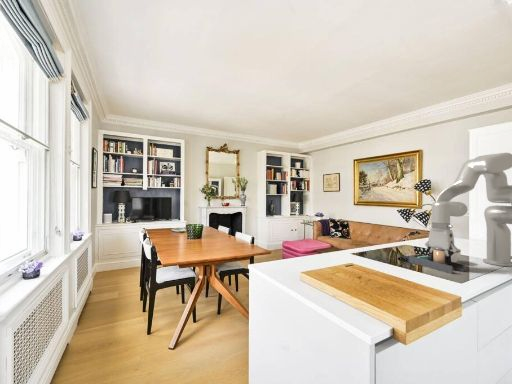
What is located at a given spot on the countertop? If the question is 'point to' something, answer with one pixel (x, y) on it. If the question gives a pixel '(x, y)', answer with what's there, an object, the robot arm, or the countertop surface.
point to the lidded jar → (455, 256)
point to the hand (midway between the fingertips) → (440, 261)
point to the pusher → (424, 257)
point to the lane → (436, 264)
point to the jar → (439, 255)
